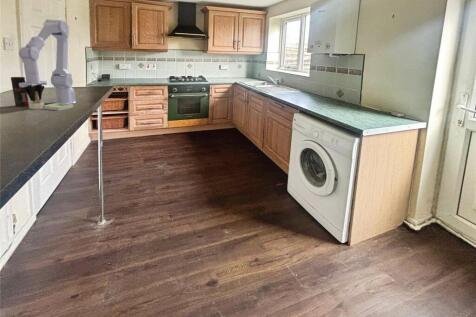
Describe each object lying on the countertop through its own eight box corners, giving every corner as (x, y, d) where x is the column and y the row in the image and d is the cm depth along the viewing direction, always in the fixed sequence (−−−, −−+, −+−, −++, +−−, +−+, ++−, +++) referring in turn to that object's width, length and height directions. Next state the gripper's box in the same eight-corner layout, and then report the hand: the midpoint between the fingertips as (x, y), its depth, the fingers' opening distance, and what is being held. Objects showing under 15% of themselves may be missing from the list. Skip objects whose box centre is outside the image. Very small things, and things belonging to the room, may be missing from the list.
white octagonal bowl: (37, 107, 170) (36, 101, 169) (47, 108, 169) (46, 102, 168) (26, 109, 164) (25, 103, 163) (36, 110, 163) (36, 104, 162)
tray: (60, 106, 175) (59, 102, 174) (74, 108, 173) (73, 104, 172) (43, 109, 165) (42, 105, 164) (58, 111, 163) (57, 107, 162)
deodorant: (22, 108, 167) (17, 78, 162) (12, 107, 168) (7, 77, 163) (31, 106, 172) (27, 77, 168) (22, 105, 173) (17, 76, 169)
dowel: (37, 106, 168) (34, 90, 165) (41, 106, 167) (39, 91, 165) (32, 107, 165) (29, 91, 163) (36, 107, 165) (34, 91, 162)
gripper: (25, 74, 153) (30, 103, 158) (50, 72, 167) (53, 99, 171) (13, 73, 155) (18, 101, 159) (39, 71, 168) (42, 98, 173)
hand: (35, 100), depth 165 cm, fingers closed on dowel, 3 cm apart
